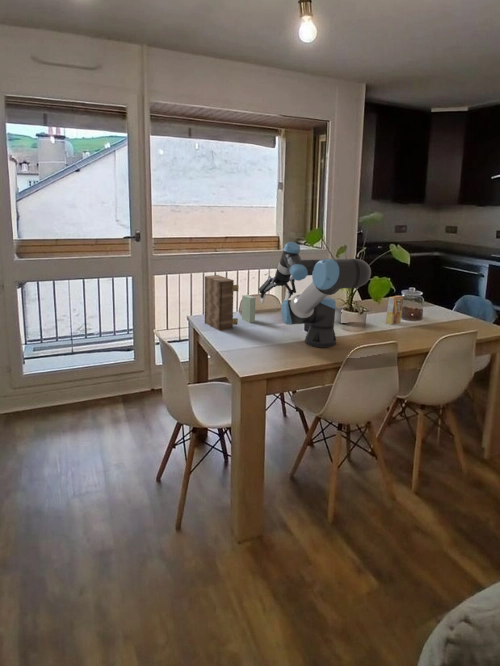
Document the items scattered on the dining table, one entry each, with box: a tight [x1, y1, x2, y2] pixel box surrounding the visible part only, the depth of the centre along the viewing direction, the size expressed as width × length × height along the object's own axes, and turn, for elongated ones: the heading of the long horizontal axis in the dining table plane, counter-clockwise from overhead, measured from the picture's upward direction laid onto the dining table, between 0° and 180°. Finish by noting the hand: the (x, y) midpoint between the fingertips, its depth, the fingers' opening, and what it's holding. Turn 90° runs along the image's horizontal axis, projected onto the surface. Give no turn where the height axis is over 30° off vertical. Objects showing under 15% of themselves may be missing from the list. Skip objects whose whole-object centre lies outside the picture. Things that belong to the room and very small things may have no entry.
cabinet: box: [204, 274, 239, 331], centre depth 259 cm, size 18×10×26 cm, turn 34°
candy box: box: [385, 295, 405, 325], centre depth 278 cm, size 9×4×15 cm, turn 129°
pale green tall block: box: [241, 294, 256, 324], centre depth 273 cm, size 8×4×14 cm, turn 34°
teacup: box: [334, 306, 344, 324], centre depth 278 cm, size 14×11×8 cm
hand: (273, 302), depth 257 cm, fingers open, 13 cm apart
